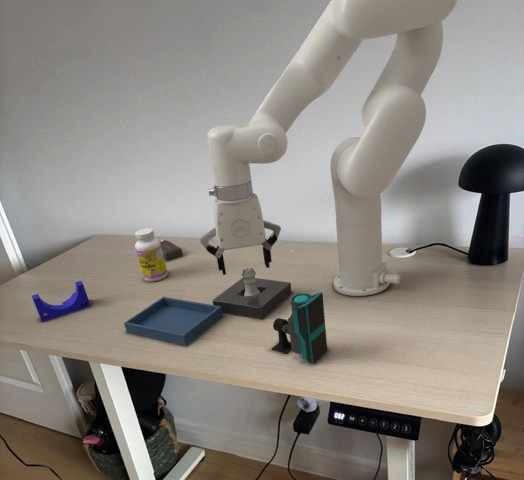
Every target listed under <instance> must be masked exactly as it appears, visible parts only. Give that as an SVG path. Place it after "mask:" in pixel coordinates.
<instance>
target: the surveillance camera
mask: <svg viewBox="0 0 524 480" xmlns="http://www.w3.org/2000/svg"><path fill="white" fill-rule="evenodd" d="M289 300H290V309H291V314H290V316H289V317H288V318H287V319H285V318H280V317H278V318H276V319H274V321H273V325H272V326H273V330H274V331H276V332H277V334H278V343H276V344H275V345H274V346H273V347H272V348H271V351H274V352H277V353H281V354H284V355H288V354H289V353H290V352H292V353H294V354H298V355H301V356H302V360H304V361H306V362H307V363H309V364H316V363H317V362H318V360H320V359H321V357H323V356H324V355H325V354H326V353H327V352H328V342H327V341H328V339H327V329H326V319H325V306H324V295H323V292H322V291H319V292H317V293H315V294H313V295H311V294H310V293H297V294H295V295H293V296H291V297H290V299H289ZM288 335H289V339H290V341H289V339H288Z"/></svg>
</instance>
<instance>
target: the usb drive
mask: <svg viewBox="0 0 524 480" xmlns="http://www.w3.org/2000/svg"><path fill="white" fill-rule="evenodd" d="M160 244H161V248H162V252H163V256H164V260H165V262H168V261H170V260H171V261H172V260H174V259H178V258H181V257H183V256H184V254H183V251H182V248H181V247H180V246H177V245H176V244H174V243H173V242H171V241H169V240H167V239H165V240H160Z"/></svg>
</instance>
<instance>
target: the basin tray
mask: <svg viewBox="0 0 524 480" xmlns="http://www.w3.org/2000/svg"><path fill="white" fill-rule="evenodd" d="M223 317H224V313H223V312H222V307H221V306H215V305H213V304H208V303H203V302H197V301H192V300H191V301H190V300H186V299H179V298H173V297H167V296H162V297H161V298H159V299H157V300H156V301H155V302H153V303H151V304H150V305H148V306H147V307H145V308H144V309H143V310H141V311H140V312H138V313H136V314H135V315H134V316H132V317H130V318H128V320H126V321H125V322H123V325H124V328H125V332H126V333H127V334H131V335H135V336H139V337H143V338H149V339H153V340H158V341H162V342H165V343H171V344H174V345H180V346H184V347H187V346H189V345H190V344H191V343H192V342H193V341H195V340H196V339H197V338H198V337H200V335H202V334H203V333H204V332H206V331H207V330H208V329H209V328H211V327H212V326H213V325H214V324H216V323H217V322H218V321H220V320H221V319H222V318H223Z"/></svg>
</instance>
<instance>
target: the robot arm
mask: <svg viewBox="0 0 524 480" xmlns="http://www.w3.org/2000/svg"><path fill="white" fill-rule="evenodd" d="M457 2H458V0H330V1H329V3H328V4H327V6H326V8H325V9H324V10H323V12H322V14H320V16H319V18H318V19H317V21H316V23H315V24H314V25H313V27H312V29H311V30H310V32H309V34H308V35H307V37H306V38H305V40H304V41H303V43H302V44H301V45H300V47H299V49H298V50H297V51H296V53H295V55H294V56H293V57H292V59H291V60H290V62H289V63H288V65H287V66H286V67H285V69H284V71H283V72H282V74H281V75H280V77H279V78H278V79H277V81H276V82H275V83H274V85H273V86H272V87H271V89H270V91H269V92H268V93H267V95H266V96H265V97H264V99H263V101H262V102H261V104H260V105H259V107H258V108H257V110H256V111H255V113H254V115H253V116H252V117H251V119H250V121H249V123H248V125H247V126H242V125H241V124H221V125H218V126H213V127H212V128H210V129H209V130H208V131H207V134H206V140H207V141H206V142H207V147H208V153H209V159H210V160H209V161H210V164H211V171H212V178H213V183H214V186H213V187H211V188H208V189H207V191H208V196H209V197H214V198H215V199H214V200H213V219H214V227H213V228H212V229H210V230H209V231H208V232H207V233H205V234H204V235H202V236H201V237H200V238H199V241H200V243H201V245H202V246H203V247H204V248H205V250H206V251H207V252H208V253H209V254H211V255H212V256H213V257H215V258H216V262H217V267H218V271H220V272H221V271H222V276H225V275H227V272H226V265H225V260H224V252H225V251H230V250H236V249H243V248H247V247H248V248H249V247H253V246H259V245H261V246H262V254H263V261H264V265H265V268H267V269H269V268H270V263H272V262H273V261H272V253H271V252H272V251H271V250H272V248H273V247H274V245H275V244H276V242H277V241H278V238H279V235H280V233H281V231H282V227H281V226H280V224H277V223H273V222H270V221H267V220H265V219H264V218H263V211H262V206H261V203H260V200H259V197H258V195H257V194H256V193H255V192H254V189H253V182H252V181H253V180H252V173H251V165H250V164H263V165H264V164H265V165H266V164H272V163H275V162H277V161H279V160H281V159H282V157H283V156H284V155H285V154H286V152H287V149H288V137H287V133H288V131H289V130H290V128H291V127H292V125H293V124H294V123H295V121H296V120H297V118H298V117H299V116H300V114H302V112H303V111H304V110H305V109H306V108H307V107H308V106H309V105H310V104H312V103H313V102H314V101H315V100H317V99H319V98H320V97H322V96H323V95H324V94H326V92H328V90H329V89H330V88H331V87H332V86H333V84H334V83H335V82H336V80H337V78H338V77H339V75H340V74H341V72H342V71H343V70H344V68H345V67H346V65H347V64H348V62H349V61H350V59H351V58H352V56H353V55H354V54H355V53H356V51H357V50H358V48H359V47H360V46H361V44H362V43H363V42H364V41H365V40H371V39H378V38H383V37H388V36H391V35H396V38H395V39H396V40H395V44H394V46H393V49H392V51H391V53H390V56H389V58H388V59H387V62H386V64H385V66H384V68H383V70H382V71H381V73H380V75H379V76H378V79H377V80H376V82H375V84H374V86H373V87H372V90H371V91H370V92H369V94H368V96H367V98H366V99H365V101H364V103H363V106H362V110H361V120H362V124H363V126H364V127H365V129H364V131H363V132H362V134H361V136H352V137H348V138H347V139H346V138H345V139H344V140H342V141H340V142H339V144H338V145H337V146H336V147H335V149H334V150H333V152H332V155H331V158H330V166H329V167H330V169H329V170H330V177H331V185H332V191H333V198H334V199H333V201H334V208H335V209H334V210H335V211H334V212H335V223H336V224H335V225H336V226H335V227H336V241H337V255H338V256H337V257H338V270H339V274H338V275H337V276H336V277H335V278H334V279H333V289H334V290H335V291H336V292H338V293H339V294H342V295H345V296H351V297H365V296H371V295H375V294H379V293H381V292H383V291H384V290H386V289H388V287H389V286H390V284H396V285H399V284H400V282H401V275H400V274H399V273H400V272H399V270H389V269H388V268H387V267H388V265H387V263H386V262H383V237H382V236H383V232H382V228H383V227H382V198H381V197H382V196H381V194H382V193H383V192H384V191H385V190H386V189H387V188H388V187H389V186H390V184H391V183H392V182H393V180H394V179H395V177H396V175H397V174H398V172H399V171H400V169H401V167H402V166H403V165H404V162H405V161H406V160H407V158H408V156H409V154H410V153H411V151H412V149H413V148H414V146H415V145H416V143H417V141H418V140H419V138H420V136H421V134H422V132H423V130H424V127H425V124H426V118H427V107H426V103H425V101H424V98H423V97H422V94H423V92H424V90H425V88H426V86H427V85H428V83H429V81H430V79H431V77H432V76H433V73H434V72H435V69H436V67H437V66H438V63H439V61H440V58H441V53H442V49H443V44H444V41H443V39H444V25H443V21H444V20H445V19H447V17H449V16H450V14H451V13H452V12H453V11H454V9H455V7H456V5H457ZM266 229H267V230H270V231H272V233H271V235H270V236H269V237H268V239H267V238H266ZM215 237H216V241H217V246H216V247H215V246H213V244H211V243H210V241H211V240H212V239H214V238H215Z"/></svg>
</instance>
